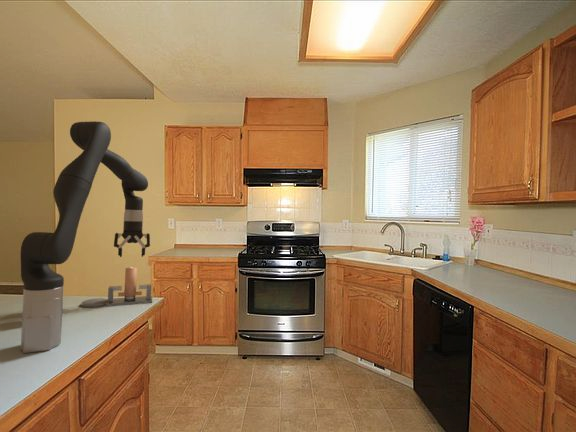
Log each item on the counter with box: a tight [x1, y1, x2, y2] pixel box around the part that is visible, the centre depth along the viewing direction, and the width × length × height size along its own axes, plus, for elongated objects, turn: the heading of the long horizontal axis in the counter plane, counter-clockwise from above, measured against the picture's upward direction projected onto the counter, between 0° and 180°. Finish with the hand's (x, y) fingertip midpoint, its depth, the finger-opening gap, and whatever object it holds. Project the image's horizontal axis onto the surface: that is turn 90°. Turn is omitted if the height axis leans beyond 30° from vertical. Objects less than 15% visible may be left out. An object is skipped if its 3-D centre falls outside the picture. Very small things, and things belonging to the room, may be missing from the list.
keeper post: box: [105, 283, 153, 307], centre depth 137 cm, size 8×18×7 cm, turn 116°
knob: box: [117, 266, 143, 297], centre depth 137 cm, size 5×9×12 cm, turn 116°
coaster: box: [81, 297, 108, 309], centre depth 132 cm, size 10×10×1 cm
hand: (131, 256), depth 137 cm, fingers open, 8 cm apart
